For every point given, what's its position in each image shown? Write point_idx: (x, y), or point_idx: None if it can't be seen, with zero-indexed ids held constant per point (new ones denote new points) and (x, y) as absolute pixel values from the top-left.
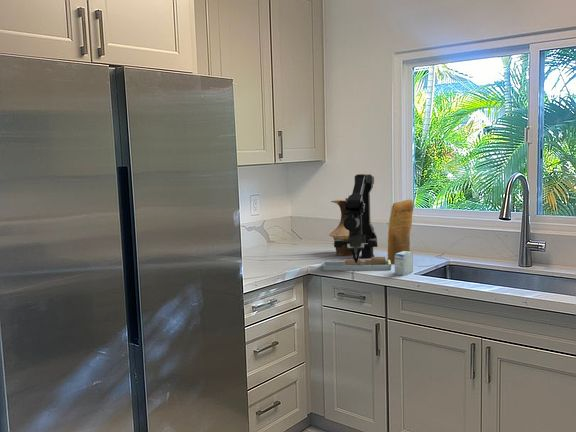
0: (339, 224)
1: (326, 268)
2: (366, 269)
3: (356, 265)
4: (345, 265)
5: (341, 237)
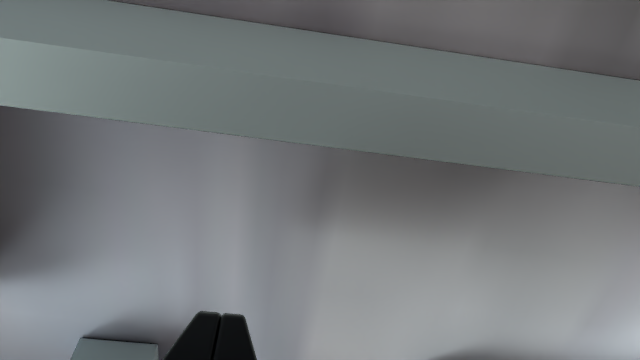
0: None
1: None
2: None
3: (223, 93)
4: (541, 151)
5: None
